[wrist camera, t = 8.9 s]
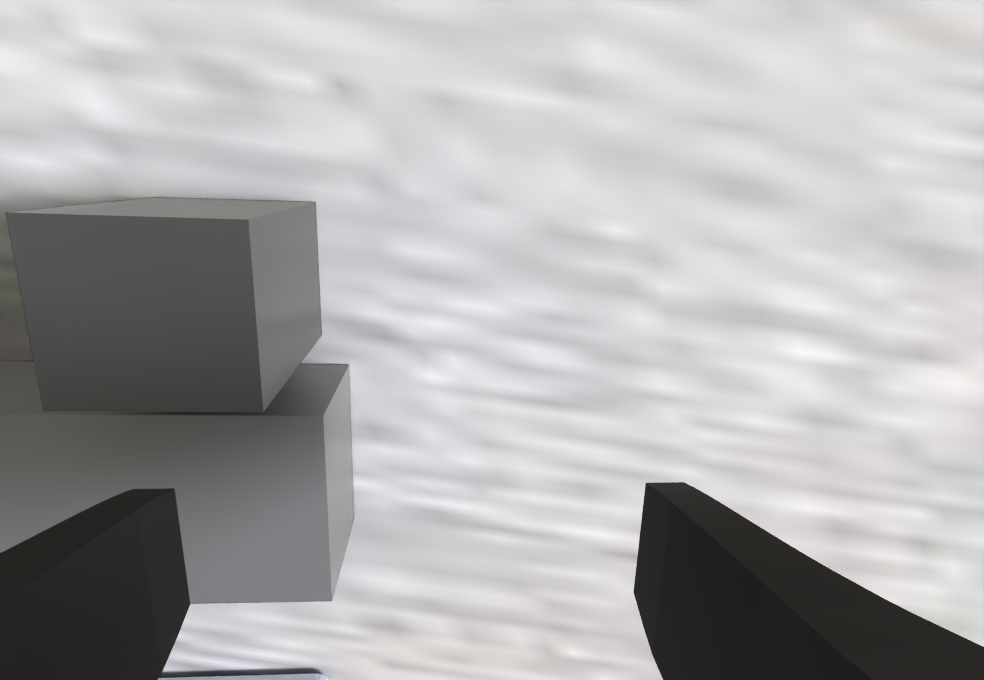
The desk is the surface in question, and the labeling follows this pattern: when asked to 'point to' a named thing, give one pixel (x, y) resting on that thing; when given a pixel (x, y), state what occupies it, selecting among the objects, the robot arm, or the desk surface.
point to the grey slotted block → (182, 387)
